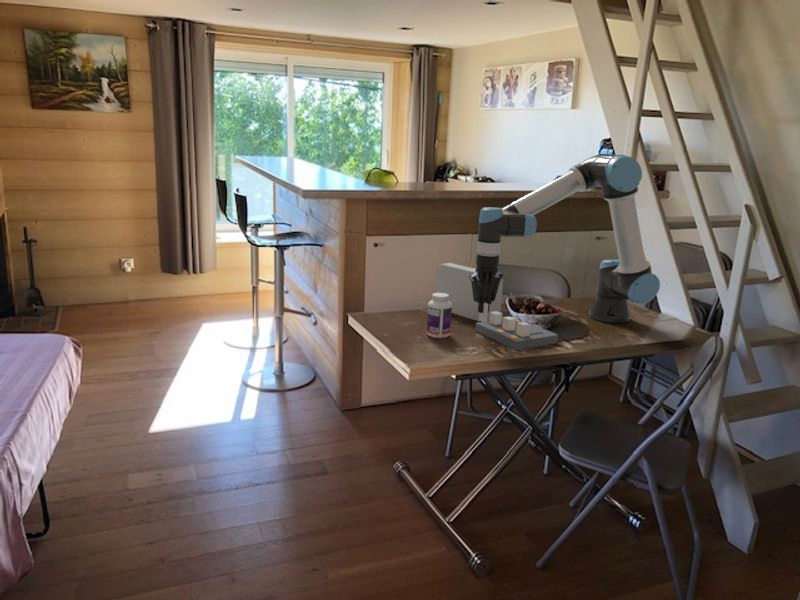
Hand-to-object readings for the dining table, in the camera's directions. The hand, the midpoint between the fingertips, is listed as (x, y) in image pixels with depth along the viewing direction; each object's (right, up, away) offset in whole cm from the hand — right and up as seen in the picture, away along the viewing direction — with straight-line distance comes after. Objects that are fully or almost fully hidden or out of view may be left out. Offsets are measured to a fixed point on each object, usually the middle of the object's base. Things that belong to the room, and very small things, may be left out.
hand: (482, 321), depth 217 cm
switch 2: (+12, -4, -8) cm, 15 cm away
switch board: (+11, -5, 0) cm, 13 cm away
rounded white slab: (-3, +1, +24) cm, 24 cm away
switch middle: (+8, -3, -2) cm, 9 cm away
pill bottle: (-15, -5, -2) cm, 16 cm away
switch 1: (+5, -1, +3) cm, 6 cm away
